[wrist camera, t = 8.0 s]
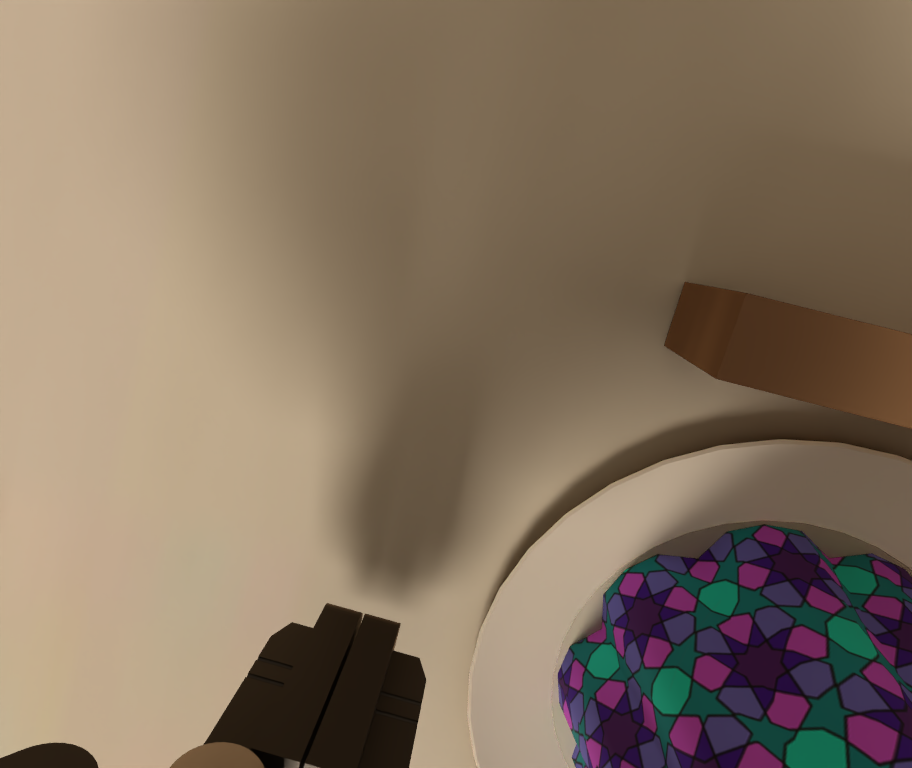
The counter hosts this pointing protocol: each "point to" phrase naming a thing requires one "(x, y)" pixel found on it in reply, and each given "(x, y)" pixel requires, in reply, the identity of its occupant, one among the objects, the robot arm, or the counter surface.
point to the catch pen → (795, 352)
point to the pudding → (711, 621)
